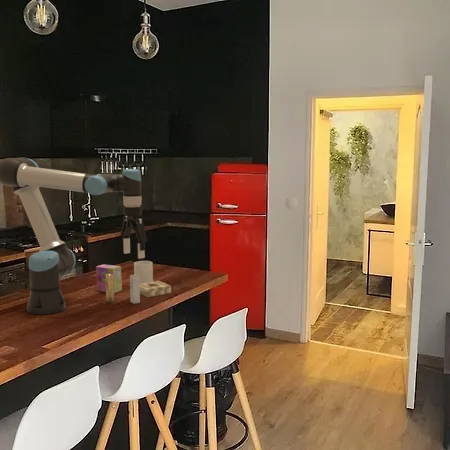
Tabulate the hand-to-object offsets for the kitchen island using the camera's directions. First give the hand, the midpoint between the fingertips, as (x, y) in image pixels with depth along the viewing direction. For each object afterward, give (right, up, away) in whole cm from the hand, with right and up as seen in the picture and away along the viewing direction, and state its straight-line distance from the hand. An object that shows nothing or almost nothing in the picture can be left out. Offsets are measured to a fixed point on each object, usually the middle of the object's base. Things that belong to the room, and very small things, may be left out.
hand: (134, 255), depth 227 cm
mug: (0, -16, +34) cm, 38 cm away
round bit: (-11, -20, +4) cm, 23 cm away
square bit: (0, -20, +3) cm, 20 cm away
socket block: (+6, -18, +19) cm, 26 cm away
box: (-15, -18, +22) cm, 32 cm away
